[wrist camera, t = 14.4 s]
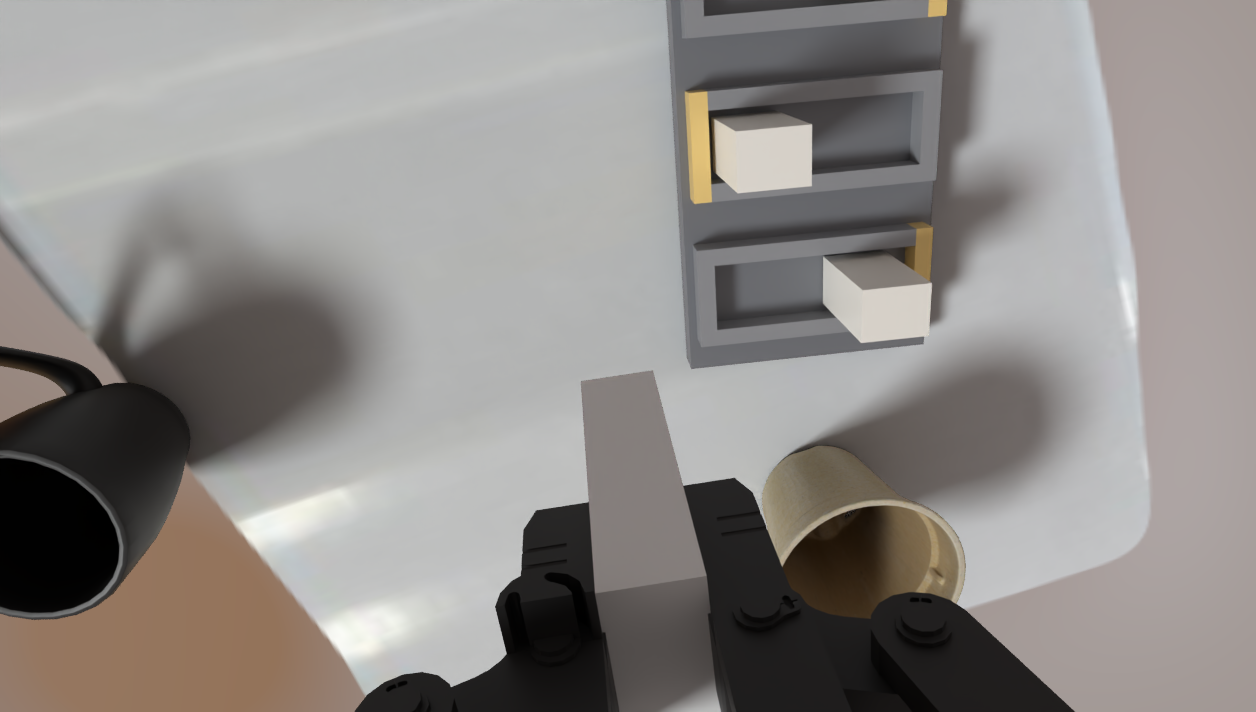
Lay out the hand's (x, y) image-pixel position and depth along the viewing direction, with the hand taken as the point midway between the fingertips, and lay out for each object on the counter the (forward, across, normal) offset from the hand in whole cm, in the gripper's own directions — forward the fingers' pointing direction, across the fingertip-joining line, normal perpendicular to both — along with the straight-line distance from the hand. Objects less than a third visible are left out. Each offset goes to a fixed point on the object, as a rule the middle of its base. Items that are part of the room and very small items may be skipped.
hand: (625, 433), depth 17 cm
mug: (+24, -25, -7) cm, 35 cm away
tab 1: (+22, +7, +1) cm, 24 cm away
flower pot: (+24, +10, -19) cm, 32 cm away
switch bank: (+24, +10, +1) cm, 26 cm away
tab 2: (+22, +12, -6) cm, 26 cm away
